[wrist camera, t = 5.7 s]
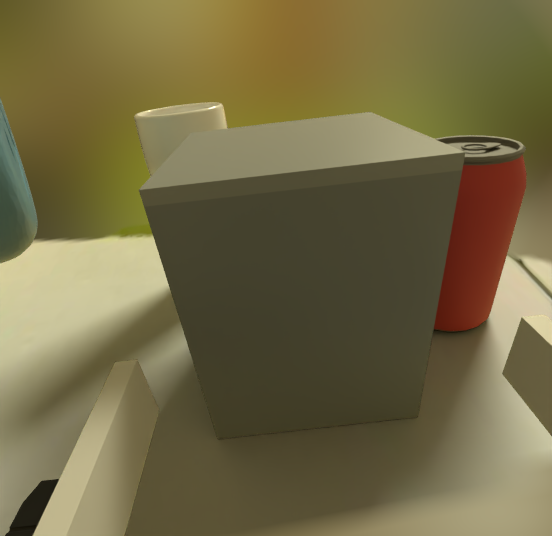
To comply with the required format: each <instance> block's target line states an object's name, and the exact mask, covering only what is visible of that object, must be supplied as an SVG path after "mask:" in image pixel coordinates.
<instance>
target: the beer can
mask: <svg viewBox="0 0 552 536" xmlns="http://www.w3.org/2000/svg"><path fill="white" fill-rule="evenodd" d="M435 140H438V141H440V142H443V143H445V144H447V145H450V146H452V147H454V148H457V149H459V150H462V151H464V152H465V158H464V163H463V169H462V174H461V180H460V186H459V191H458V197H457V202H456V208H455V213H454V219H453V224H452V230H451V235H450V241H449V246H448V252H447V257H446V263H445V269H444V274H443V280H442V285H441V291H440V296H439V302H438V307H437V313H436V318H435V324H434V330H441V331H448V332H453V331H465V330H468V329H471V328H475V327H478V326H479V325H480V324H482V323H483V322H484V321H485V320H487V319H488V317H489V314H490V312H491V308H492V305H493V301H494V298H495V294H496V291H497V287H498V284H499V280H500V277H501V273H502V270H503V266H504V263H505V259H506V256H507V252H508V249H509V245H510V242H511V238H512V235H513V231H514V227H515V224H516V220H517V217H518V213H519V210H520V206H521V203H522V199H523V196H524V192H525V189H526V170H525V165H524V159H523V153H524V151H525V149H526V148H525V146H524V145H523V144H522V143H521V142H518V141H515V140H512V139H508V138H502V137H493V136H473V135H471V136H452V137H443V138H437V139H435Z"/></svg>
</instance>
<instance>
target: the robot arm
mask: <svg viewBox="0 0 552 536" xmlns="http://www.w3.org/2000/svg"><path fill="white" fill-rule="evenodd" d="M36 231H37V216H36V211H35V208H34V204H33V199H32V196H31V192H30V189H29V186H28V182H27V179H26V175H25V172H24V169H23V166H22V162H21V160H20V156H19V153H18V150H17V147H16V144H15V141H14V138H13V135H12V132H11V128H10V126H9V123H8V120H7V116H6V113H5V111H4V108H3V105H2V102H1V99H0V263H3V262H6V261H9V260H11V259H14V258H16V257H17V256H19V255H21V254H22V253H23V252H24V251H25V250H26V249H27V248H28V247H29V246H30V245H31V243H32V242H33V239H34V237H35V235H36ZM502 374H503V375H504V376H505V378H506V379H507V380H508V382H509V383H510V384H511V385H512V387H513V388H514V389H515V390H516V392H517V393H518V394H519V395H520V397H521V398H522V399H523V400H524V402H525V403H526V404H527V406H528V407H529V408H530V409H531V411H532V412H533V413H534V414H535V416H536V417H537V418H538V419H539V421H540V422H541V423H542V424H543V426H544V427H545V428H546V430H547V431H548V432H549V433H550V435H551V436H552V321H551V320H550V319H549V318H548V317H547V316H546V315H537V316H528V317H522V318H521V321H520V324H519V327H518V330H517V333H516V336H515V338H514V341H513V344H512V347H511V350H510V353H509V356H508V359H507V361H506V364H505V367H504V370H503V373H502ZM158 414H159V409H158V406H157V404H156V402H155V399H154V397H153V395H152V392H151V390H150V388H149V385H148V383H147V381H146V378H145V376H144V374H143V372H142V369H141V367H140V365H139V362H138V360H137V359H136V360H127V361H118V362H115V363H114V365H113V367H112V369H111V371H110V373H109V376H108V378H107V380H106V382H105V384H104V386H103V388H102V390H101V392H100V395H99V397H98V399H97V401H96V403H95V405H94V407H93V409H92V411H91V414H90V416H89V418H88V420H87V422H86V424H85V426H84V428H83V430H82V433H81V435H80V437H79V439H78V441H77V443H76V445H75V447H74V450H73V452H72V454H71V456H70V458H69V460H68V462H67V464H66V466H65V469H64V471H63V473H62V475H61V477H60V479H55V480H46V481H41V482H40V483H39V485H38V486H37V487H36V488H35V489H34V490H33V492H32V493H31V494H30V495H29V496H28V497H27V499H26V500H25V501H24V502H23V503H22V505H21V507H20V509H19V511H18V513H17V515H16V517H15V519H14V520H13V522H12V524H11V526H10V531H9V532H8V533H7V534H6V535H5V536H125V533H126V529H127V525H128V522H129V518H130V515H131V511H132V507H133V504H134V500H135V497H136V493H137V490H138V486H139V482H140V479H141V475H142V472H143V468H144V464H145V461H146V457H147V454H148V450H149V446H150V443H151V439H152V436H153V432H154V429H155V425H156V421H157V418H158Z"/></svg>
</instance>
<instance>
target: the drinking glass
mask: <svg viewBox="0 0 552 536" xmlns="http://www.w3.org/2000/svg"><path fill="white" fill-rule="evenodd" d="M134 119H135V122H136V127H137V131H138V135H139V139H140V143H141V147H142V150H143V154H144V157H145V161H146V164H147V167H148V170H149V173H150V176H152V175H153V174H154V173H155V172H156V171H157V170H158V168H159V167H160V166H161V165H162V164H163V163H164V162H165V161H166V160H167V159H168V158H169V156H170V155H171V154H172V153H173V152H174V151H175V150H176V149H177V148H178V147H179V146H180V144H181V143H182V142H183V141H184V140H185V139H186V138H187V137H188V136H189V135H190V133H194V132H203V131H211V130H220V129H228V127H227V123H226V118H225V113H224V108H223V105H222V104H221V103H216V102H211V103H195V104H186V105H178V106H171V107H165V108H159V109H153V110H149V111H144V112H141V113H138V114H136V115H135V117H134Z"/></svg>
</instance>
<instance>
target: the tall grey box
mask: <svg viewBox="0 0 552 536" xmlns="http://www.w3.org/2000/svg"><path fill="white" fill-rule="evenodd" d="M464 158H465V152H464V151H462V150H459V149H457V148H454V147H452V146H450V145H447V144H445V143H443V142H440V141H438V140H435V139H433V138H431V137H428V136H426V135H424V134H421V133H419V132H416V131H414V130H412V129H409V128H407V127H404V126H402V125H400V124H397V123H395V122H393V121H390V120H388V119H385V118H383V117H381V116H378V115H376V114H374V113H371V112H367V113H357V114H349V115H341V116H332V117H323V118H315V119H306V120H298V121H289V122H280V123H272V124H263V125H255V126H246V127H238V128H229V129H220V130H211V131H203V132H194V133H190V135H189V136H188V137H187V138H186V139H185V140H184V141H183V142H182V143H181V144H180V146H179V147H178V148H177V149H176V150H175V151H174V152H173V153H172V154H171V155H170V156H169V158H168V159H167V160H166V161H165V162H164V163H163V164H162V165H161V166H160V167H159V168H158V170H157V171H156V172H155V173H154V174H153V175H152V176H151V177H150V178H149V179H148V180H147V182H146V183H145V184H144V185H143V186H142V187H141V188H140V189H139V192H140V195H141V198H142V201H143V205H144V208H145V211H146V214H147V217H148V221H149V224H150V227H151V230H152V233H153V236H154V239H155V243H156V246H157V249H158V252H159V255H160V258H161V262H162V265H163V268H164V271H165V274H166V277H167V281H168V284H169V287H170V290H171V293H172V296H173V300H174V303H175V306H176V309H177V312H178V315H179V318H180V322H181V325H182V328H183V331H184V334H185V337H186V341H187V344H188V347H189V350H190V353H191V356H192V360H193V363H194V366H195V369H196V372H197V375H198V379H199V382H200V385H201V388H202V391H203V394H204V397H205V401H206V404H207V407H208V410H209V413H210V416H211V420H212V423H213V426H214V429H215V432H216V435H217V439H224V438H233V437H242V436H251V435H260V434H269V433H278V432H287V431H296V430H305V429H314V428H323V427H332V426H341V425H350V424H359V423H368V422H377V421H386V420H395V419H404V418H413V417H418V412H419V407H420V401H421V396H422V390H423V385H424V379H425V374H426V368H427V363H428V357H429V352H430V346H431V340H432V335H433V329H434V324H435V318H436V313H437V307H438V302H439V296H440V291H441V285H442V280H443V274H444V269H445V263H446V257H447V252H448V246H449V241H450V235H451V230H452V224H453V219H454V213H455V208H456V202H457V197H458V191H459V186H460V180H461V174H462V169H463V163H464Z"/></svg>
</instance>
